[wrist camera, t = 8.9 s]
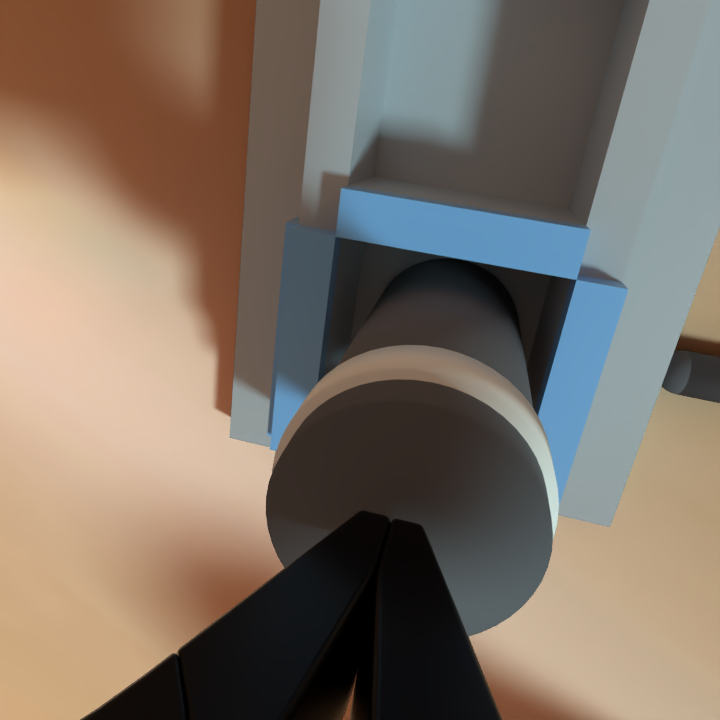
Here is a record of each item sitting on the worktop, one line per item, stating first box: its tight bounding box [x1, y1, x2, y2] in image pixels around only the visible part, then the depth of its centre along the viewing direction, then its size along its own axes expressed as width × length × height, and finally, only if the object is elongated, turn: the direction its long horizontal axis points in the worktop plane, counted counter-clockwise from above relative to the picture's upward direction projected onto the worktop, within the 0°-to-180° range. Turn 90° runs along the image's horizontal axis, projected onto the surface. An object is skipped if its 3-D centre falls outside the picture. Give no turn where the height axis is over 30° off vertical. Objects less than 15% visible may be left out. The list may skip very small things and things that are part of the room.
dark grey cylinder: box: [266, 258, 559, 636], centre depth 12 cm, size 4×4×9 cm
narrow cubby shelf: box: [230, 0, 720, 527], centre depth 13 cm, size 12×23×5 cm, turn 172°
